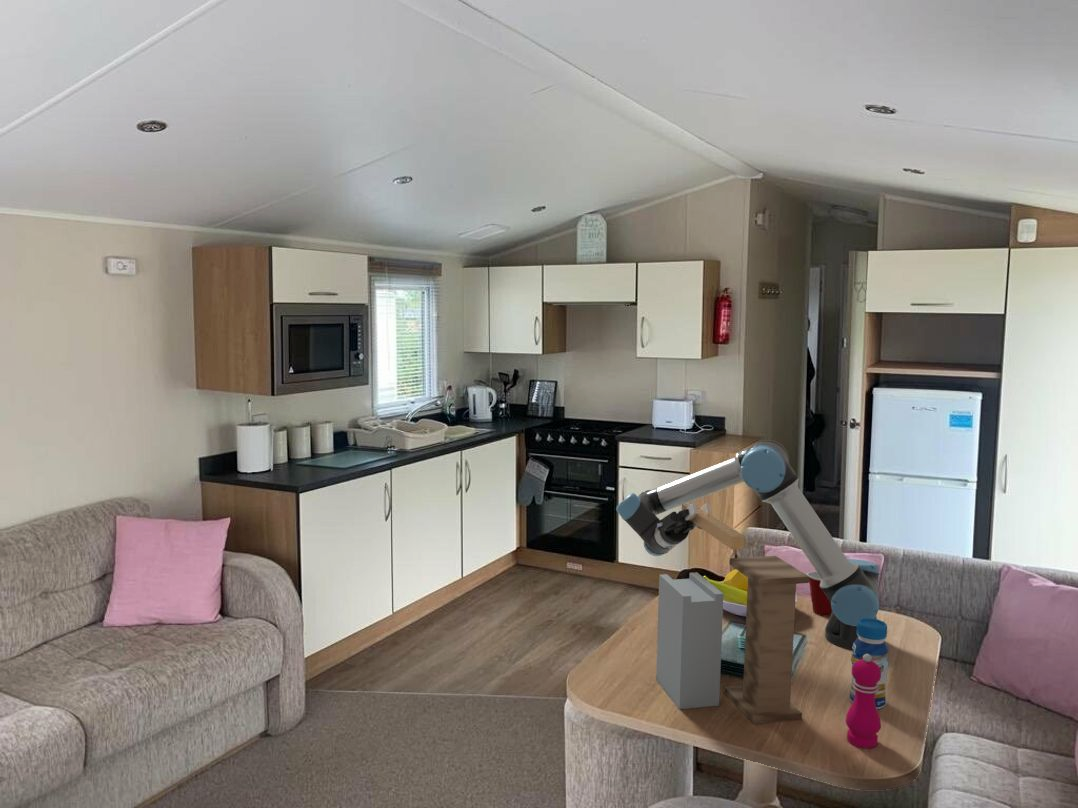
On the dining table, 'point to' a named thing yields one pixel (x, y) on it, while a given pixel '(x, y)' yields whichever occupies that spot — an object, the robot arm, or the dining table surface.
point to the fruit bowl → (734, 592)
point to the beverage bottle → (872, 653)
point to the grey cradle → (689, 640)
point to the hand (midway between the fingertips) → (701, 507)
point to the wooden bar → (717, 529)
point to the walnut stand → (768, 639)
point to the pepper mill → (864, 704)
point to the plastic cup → (818, 595)
